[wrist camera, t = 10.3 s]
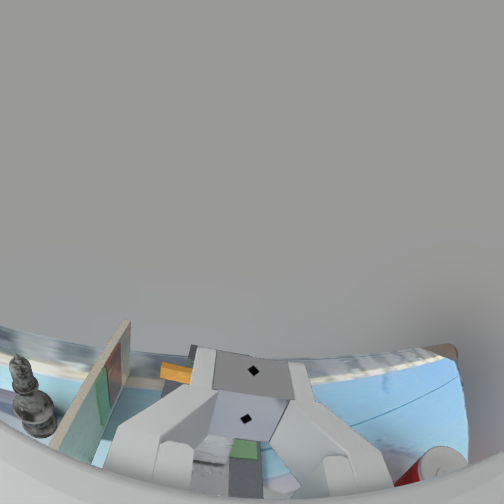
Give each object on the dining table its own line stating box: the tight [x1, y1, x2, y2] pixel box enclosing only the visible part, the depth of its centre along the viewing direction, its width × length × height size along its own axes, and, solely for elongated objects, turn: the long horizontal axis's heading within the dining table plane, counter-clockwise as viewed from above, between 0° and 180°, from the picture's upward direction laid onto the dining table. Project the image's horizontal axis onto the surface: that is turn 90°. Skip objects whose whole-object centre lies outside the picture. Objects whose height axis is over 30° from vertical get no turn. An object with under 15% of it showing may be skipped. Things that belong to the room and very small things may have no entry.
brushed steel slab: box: [160, 362, 235, 464], centre depth 29 cm, size 6×8×12 cm
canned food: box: [394, 446, 468, 487], centre depth 21 cm, size 8×8×11 cm
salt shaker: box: [9, 354, 57, 438], centre depth 23 cm, size 6×6×12 cm
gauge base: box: [48, 319, 263, 499], centre depth 29 cm, size 30×21×10 cm
